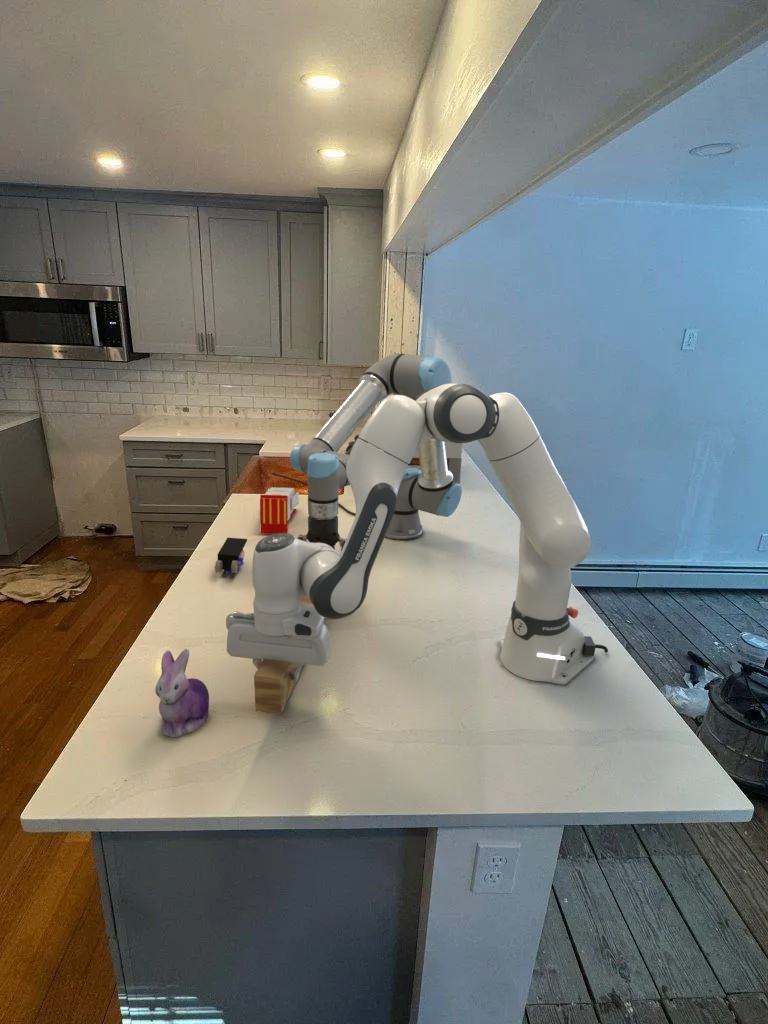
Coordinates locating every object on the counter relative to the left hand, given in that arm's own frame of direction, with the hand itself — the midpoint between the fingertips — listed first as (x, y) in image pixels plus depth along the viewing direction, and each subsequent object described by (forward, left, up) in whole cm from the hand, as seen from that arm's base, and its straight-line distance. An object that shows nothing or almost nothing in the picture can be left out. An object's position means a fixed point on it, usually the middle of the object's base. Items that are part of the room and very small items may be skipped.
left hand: (323, 597), depth 150 cm
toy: (-60, +23, -2) cm, 64 cm away
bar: (+13, -14, -1) cm, 19 cm away
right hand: (+26, -28, +2) cm, 38 cm away
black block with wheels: (-33, -10, -2) cm, 34 cm away
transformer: (-78, +111, -2) cm, 136 cm away
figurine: (+22, -46, -2) cm, 51 cm away
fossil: (-125, +110, -2) cm, 167 cm away
